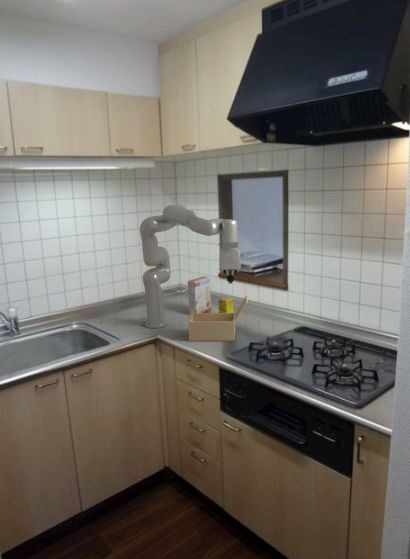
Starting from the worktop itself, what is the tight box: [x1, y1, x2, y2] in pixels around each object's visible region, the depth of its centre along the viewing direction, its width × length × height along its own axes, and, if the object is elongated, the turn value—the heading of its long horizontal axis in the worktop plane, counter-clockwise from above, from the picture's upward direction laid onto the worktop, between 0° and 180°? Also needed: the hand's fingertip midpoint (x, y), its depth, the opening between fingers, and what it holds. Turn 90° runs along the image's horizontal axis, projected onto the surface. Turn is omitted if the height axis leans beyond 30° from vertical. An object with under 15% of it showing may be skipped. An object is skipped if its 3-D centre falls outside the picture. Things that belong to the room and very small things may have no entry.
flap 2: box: [234, 294, 248, 322], centre depth 208 cm, size 11×14×1 cm
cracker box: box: [187, 276, 212, 315], centre depth 252 cm, size 14×6×21 cm, turn 141°
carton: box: [187, 312, 236, 343], centre depth 212 cm, size 22×14×10 cm, turn 84°
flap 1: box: [186, 295, 201, 322], centre depth 211 cm, size 11×14×1 cm
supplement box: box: [218, 297, 234, 313], centre depth 242 cm, size 6×6×11 cm
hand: (230, 282), depth 206 cm, fingers closed
